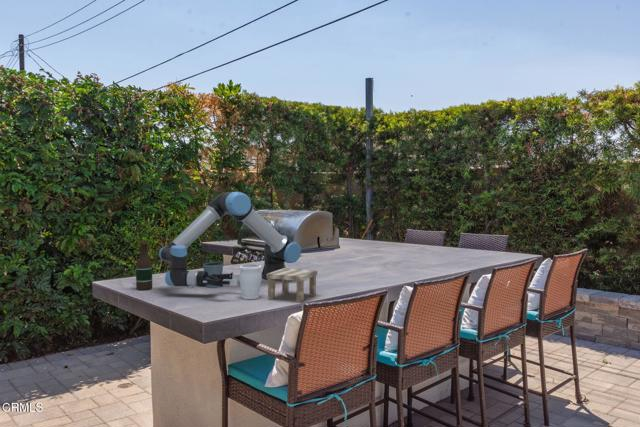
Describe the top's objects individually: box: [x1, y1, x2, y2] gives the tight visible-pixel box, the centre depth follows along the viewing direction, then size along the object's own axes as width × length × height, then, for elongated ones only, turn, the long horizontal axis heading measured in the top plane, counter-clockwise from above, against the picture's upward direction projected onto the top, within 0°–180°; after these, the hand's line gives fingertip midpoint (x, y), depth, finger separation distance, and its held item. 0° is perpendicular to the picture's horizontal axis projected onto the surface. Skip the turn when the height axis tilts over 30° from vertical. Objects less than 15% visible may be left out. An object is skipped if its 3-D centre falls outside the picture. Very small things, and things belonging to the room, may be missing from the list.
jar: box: [239, 264, 263, 300], centre depth 229 cm, size 11×10×15 cm
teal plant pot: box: [202, 261, 224, 289], centre depth 256 cm, size 10×10×12 cm
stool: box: [267, 267, 318, 304], centre depth 230 cm, size 18×18×12 cm
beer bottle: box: [135, 241, 153, 291], centre depth 248 cm, size 8×8×24 cm
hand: (241, 279), depth 229 cm, fingers open, 13 cm apart
